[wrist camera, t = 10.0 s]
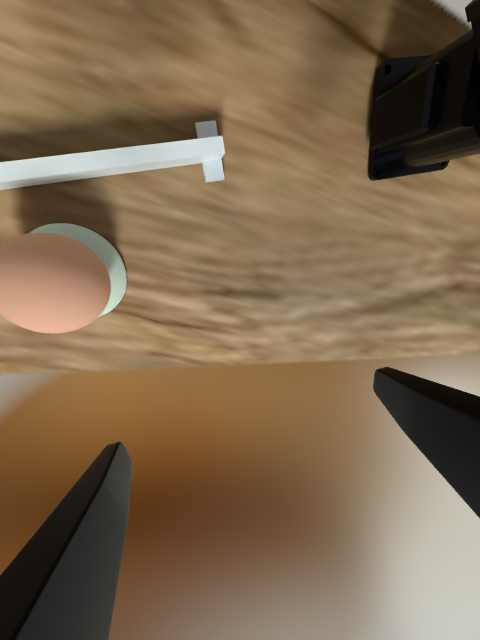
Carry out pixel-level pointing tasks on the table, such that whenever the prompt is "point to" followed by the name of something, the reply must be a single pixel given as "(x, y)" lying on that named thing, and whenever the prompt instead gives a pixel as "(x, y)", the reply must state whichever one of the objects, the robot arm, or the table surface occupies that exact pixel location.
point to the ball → (51, 283)
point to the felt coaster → (101, 250)
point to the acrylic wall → (120, 161)
